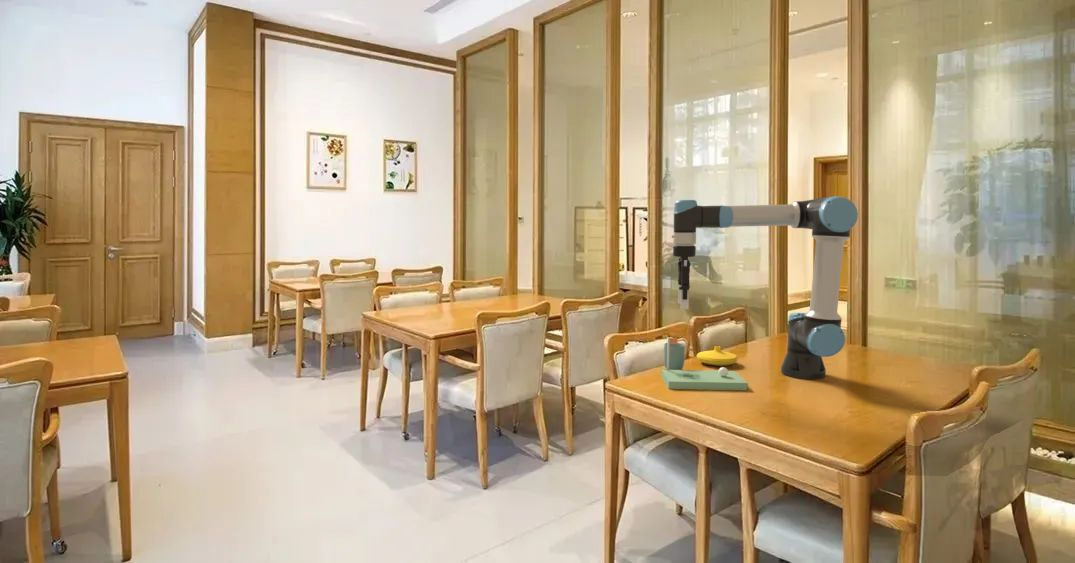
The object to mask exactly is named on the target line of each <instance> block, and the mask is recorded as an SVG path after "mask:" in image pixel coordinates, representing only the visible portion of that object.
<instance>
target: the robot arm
mask: <svg viewBox="0 0 1075 563" xmlns="http://www.w3.org/2000/svg"><path fill="white" fill-rule="evenodd" d="M673 207H674V209H673V235H671V238H672V239H673V244H674V245H673V247H672V248H673V249H672V252H673V253H672V255H673V257H676V258H678V257H679V258H678V261H677V269H678V270H677V271H678V276H677V277H678V278H677V284H678V286H677V304H679V307H680V310H689V308H690V306H689V304H690V288H691V285H690V272H691V269H690V268H691V262H690V260H689V258H691V257H692V258H693V257H695V256H696V246H695V245H697V228H699V229H701V228H704V229H707V228H708V229H718V228H719V229H723V228H724V229H725V228H727V229H728V228H730V227H732V228H733V227H735V228H736V227H780V226H781V227H782V226H784V227H785V226H791V227H792V229H807V230H812V231H811V237H812V238H813V239H814V240H815V250H814V261H813V272H812V274H813V275H812V283H811V292H810V294H811V296H810V302H809V304H810V305H809V309H808V311H807V312H791V313H790V314H789V316H788V320H787V344H786V346H787V348H786V354H785V357H783V361H782V364H781V368H780V373H781V374H783V375H784V376H787V377H791V378H796V379H797V378H798V379H806V380H818V379H819V380H820V379H824V378H826V373H827V372H826V371H827V369H826V367H825V363H824V360H823V358H824V357H825V358H830V357H833V356H835V355H837V354H838V353H839V352H841V351H842V350H843V348H844V346H845V344H846V334H845V332H844V330H843V329H842V320H843V318H842V317H841V315H840V314H839V313H838V310H839V308H838V307H839V300H840V298H839V296H840V287H841V276H842V267H843V257H844V248H845V247H844V245H845V242H847V241H848V240H849V239H850V237H851V229H852V228H854V226H855V225H856V223H857V221H858V218H859V213H858V209H857V206H856V205H855V203H854V202H853V201H852V200H850V198H849V199H848V198H847V197H843V196H837V195H834V196H827V197H826V196H825V197H819V198H818V197H817V198H813V199H807V200H801V201H800V200H798V201H792V202H791V204H790V203H789V204H755V205H750V204H749V205H698V202H697V200H695V199H678V200H676V201H675V202H674V206H673Z"/></svg>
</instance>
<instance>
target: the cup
mask: <svg viewBox="0 0 1075 563" xmlns="http://www.w3.org/2000/svg"><path fill="white" fill-rule="evenodd" d="M685 360H686V344H684V343H681V342H677V344H670V345H669V370H684V367H685ZM663 364H664V367H665V370H667V342H665V343H664V344H663Z"/></svg>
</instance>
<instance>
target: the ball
mask: <svg viewBox="0 0 1075 563" xmlns="http://www.w3.org/2000/svg"><path fill="white" fill-rule="evenodd" d="M717 371H718V372H719V375H720V376H723V377H724V376H726V375H727V374H728V371H729V369H727V368H726V367H725V366H721V367H720V368H719V369H718V370H717Z"/></svg>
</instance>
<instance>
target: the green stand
mask: <svg viewBox="0 0 1075 563" xmlns="http://www.w3.org/2000/svg"><path fill="white" fill-rule="evenodd" d="M666 338H667V339H666V341H667V342H666V343H667V369H661V378H662V379H663V382H664V384H665V385H666V387H667V388H668V389H670V390H708V391H709V390H715V391H717V390H719V391H720V390H721V391H722V390H723V391H747V390H748V382H747V381H746V380H745V379H743V377H741V375H739V373H737V372H736V371H734V370H728V374H727V375H726V376H724V377H723V376H720V375H719V372H718V371H719V370H704V369H701V370H700V369H699V370H696V369H694V370H693V369H682V370H669V345H670V344H677V343H679V342H678V341H679V340H678V337H666Z"/></svg>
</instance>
